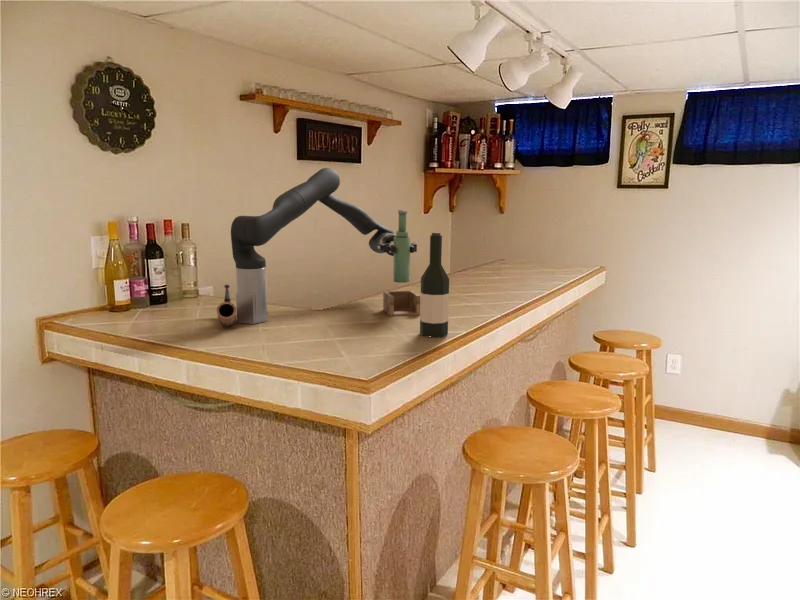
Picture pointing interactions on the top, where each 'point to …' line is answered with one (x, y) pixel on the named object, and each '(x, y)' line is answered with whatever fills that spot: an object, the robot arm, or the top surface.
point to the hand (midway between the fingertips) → (404, 250)
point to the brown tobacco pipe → (226, 310)
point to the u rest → (401, 303)
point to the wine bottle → (434, 293)
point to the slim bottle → (402, 251)
